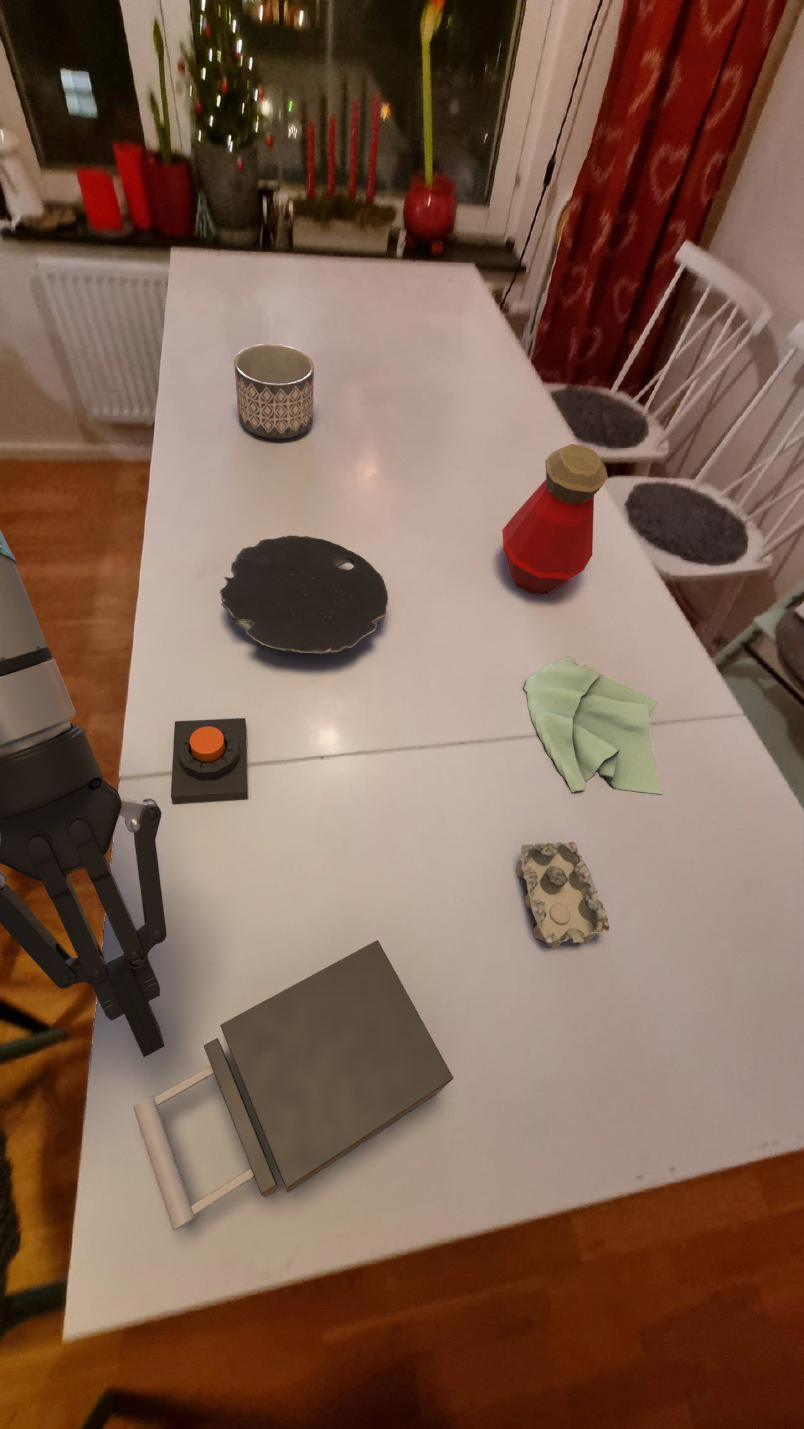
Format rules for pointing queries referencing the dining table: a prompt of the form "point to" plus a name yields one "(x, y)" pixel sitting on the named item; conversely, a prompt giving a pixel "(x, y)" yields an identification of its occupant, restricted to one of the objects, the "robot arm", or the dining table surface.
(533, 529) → the bottle
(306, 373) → the planter
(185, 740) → the control block
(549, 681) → the cloth
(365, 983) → the grey drawer box
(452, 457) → the dining table surface
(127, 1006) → the robot arm
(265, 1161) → the open sliding drawer
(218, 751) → the button
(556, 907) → the egg carton
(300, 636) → the board
